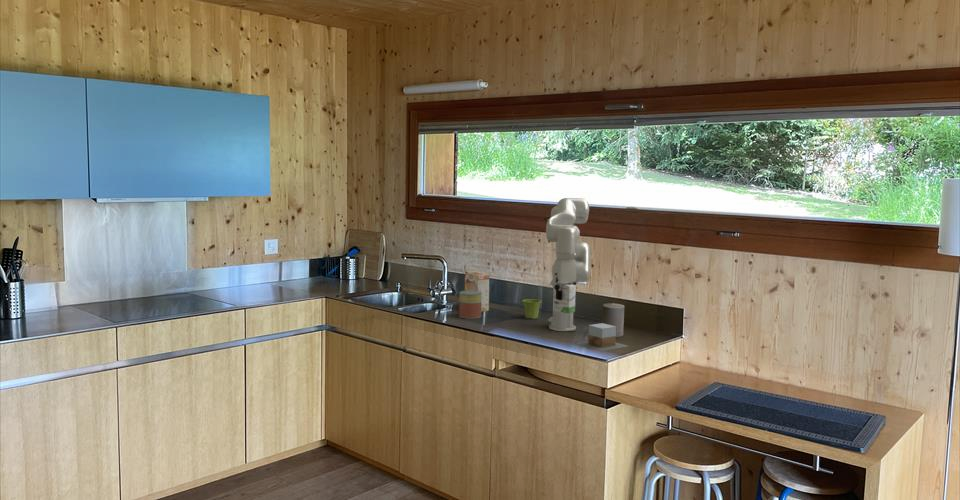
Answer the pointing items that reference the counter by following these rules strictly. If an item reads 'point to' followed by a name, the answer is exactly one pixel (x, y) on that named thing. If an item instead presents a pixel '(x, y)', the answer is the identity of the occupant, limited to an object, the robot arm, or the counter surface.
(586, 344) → the mat
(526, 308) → the plant pot
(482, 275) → the coffeecake box
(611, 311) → the pillar candle
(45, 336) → the counter surface
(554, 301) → the ink box
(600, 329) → the top slab
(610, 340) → the bottom slab
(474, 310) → the canned food
